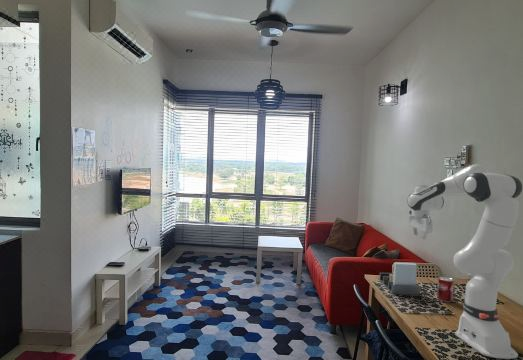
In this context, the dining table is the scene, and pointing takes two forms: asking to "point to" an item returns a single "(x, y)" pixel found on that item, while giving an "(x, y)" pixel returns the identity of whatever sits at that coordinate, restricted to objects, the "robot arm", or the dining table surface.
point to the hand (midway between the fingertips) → (419, 236)
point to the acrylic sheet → (404, 274)
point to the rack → (398, 286)
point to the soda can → (445, 289)
